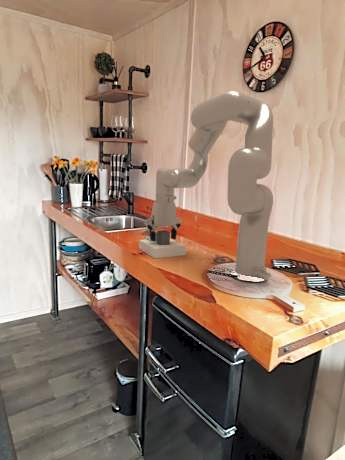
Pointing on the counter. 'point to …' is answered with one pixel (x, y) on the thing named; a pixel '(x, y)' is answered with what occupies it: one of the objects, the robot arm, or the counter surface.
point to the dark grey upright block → (163, 237)
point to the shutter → (150, 239)
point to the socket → (162, 248)
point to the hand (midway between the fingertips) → (163, 239)
